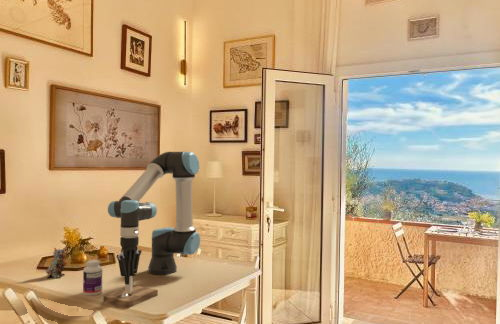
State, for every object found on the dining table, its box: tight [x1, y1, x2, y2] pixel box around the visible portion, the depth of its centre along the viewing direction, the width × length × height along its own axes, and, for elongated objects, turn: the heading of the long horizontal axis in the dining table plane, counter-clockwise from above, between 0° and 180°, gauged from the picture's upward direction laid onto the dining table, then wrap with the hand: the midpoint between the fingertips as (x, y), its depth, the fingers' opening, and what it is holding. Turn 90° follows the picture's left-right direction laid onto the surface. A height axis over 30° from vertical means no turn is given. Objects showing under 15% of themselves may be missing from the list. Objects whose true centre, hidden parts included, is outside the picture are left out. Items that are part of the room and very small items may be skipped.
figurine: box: [45, 247, 67, 280], centre depth 212 cm, size 9×9×15 cm
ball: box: [121, 293, 129, 298], centre depth 176 cm, size 4×4×4 cm
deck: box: [103, 284, 159, 309], centre depth 180 cm, size 14×18×2 cm
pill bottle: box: [82, 259, 103, 296], centre depth 186 cm, size 8×8×14 cm
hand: (128, 291), depth 179 cm, fingers closed
